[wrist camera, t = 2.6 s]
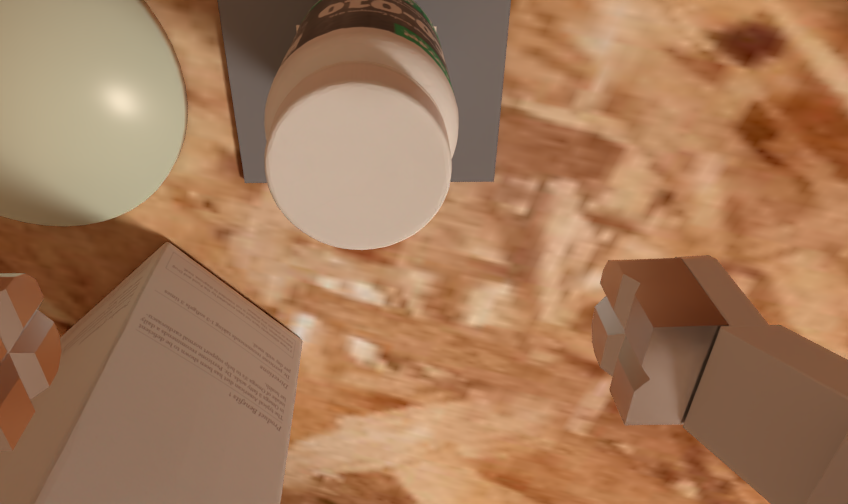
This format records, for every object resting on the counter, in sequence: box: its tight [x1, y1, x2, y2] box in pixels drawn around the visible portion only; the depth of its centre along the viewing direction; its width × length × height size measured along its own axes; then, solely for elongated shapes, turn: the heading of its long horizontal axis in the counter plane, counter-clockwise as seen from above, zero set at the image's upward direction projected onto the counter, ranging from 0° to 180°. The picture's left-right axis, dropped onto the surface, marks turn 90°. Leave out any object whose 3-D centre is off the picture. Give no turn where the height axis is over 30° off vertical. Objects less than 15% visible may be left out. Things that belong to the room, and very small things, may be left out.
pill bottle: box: [264, 0, 459, 250], centre depth 17 cm, size 5×5×8 cm
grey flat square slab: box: [218, 0, 511, 183], centre depth 20 cm, size 9×9×1 cm
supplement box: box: [0, 242, 302, 504], centre depth 21 cm, size 7×7×13 cm
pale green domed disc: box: [0, 0, 188, 226], centre depth 20 cm, size 10×10×1 cm
